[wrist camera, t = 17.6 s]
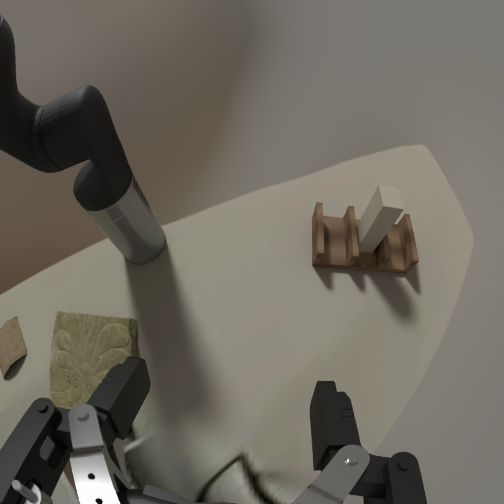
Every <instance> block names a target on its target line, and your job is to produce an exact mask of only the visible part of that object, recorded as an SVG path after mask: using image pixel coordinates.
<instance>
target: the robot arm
mask: <svg viewBox="0 0 504 504" xmlns="http://www.w3.org/2000/svg"><path fill="white" fill-rule="evenodd" d="M15 63H16V62H15V44H14V38H13V33H12V31H11V28H10V26H9V24H8V23H7V21H6V20H5V19H4V18H3V17H2V16H1V14H0V150H2V151H4V152H6V153H8V154H9V155H11V156H13V157H15V158H16V159H18V160H20V161H22V162H24V163H25V164H27V165H29V166H31V167H33V168H35V169H37V170H39V171H42V172H45V173H54V172H59V171H62V170H64V169H67V168H69V167H71V166H73V165H76V164H78V163H81V162H84V161H86V160H88V159H89V160H90V161H89V162H87V163H86V164H85V165H84V167H83V168H82V169H81V170H80V172H79V174H78V175H77V177H76V179H75V182H74V187H73V190H74V195H75V198H76V199H77V201H78V202H79V203H80V204H81V206H82V207H83V208H84V210H85V211H86V212H87V213H88V215H89V216H90V217H91V218H92V219H93V221H94V222H95V223H96V224H97V225H98V226H99V228H100V229H101V230H102V231H103V232H104V234H105V235H106V236H107V237H108V238H109V239H110V241H111V242H112V243H113V244H114V245H115V246H116V247H117V248H118V250H119V251H120V252H121V253H122V254H123V255H124V256H125V257H126V258H127V260H129V261H130V262H132V263H135V264H144V263H147V262H149V261H151V260H153V259H154V258H156V257H157V256H158V255H159V253H160V252H161V251H162V249H163V247H164V244H165V234H164V231H163V229H162V227H161V226H160V224H159V222H158V220H157V218H156V216H155V215H154V212H153V211H152V209H151V207H150V205H149V203H148V201H147V199H146V198H145V195H144V193H143V192H142V190H141V188H140V186H139V184H138V182H137V180H136V178H135V176H134V174H133V172H132V170H131V168H130V166H129V164H128V161H127V158H126V155H125V152H124V150H123V147H122V145H121V142H120V140H119V138H118V135H117V133H116V130H115V127H114V125H113V122H112V119H111V116H110V113H109V110H108V107H107V105H106V102H105V100H104V98H103V96H102V95H101V93H100V92H99V91H98V90H97V89H96V88H95V87H94V86H90V85H89V86H84V87H81V88H79V89H76V90H74V91H72V92H70V93H68V94H66V95H64V96H62V97H60V98H58V99H56V100H54V101H52V102H50V103H48V104H47V105H44V106H38V105H36V104H33V103H32V102H30V101H29V100H27V99H26V98H25V97H24V96H22V95H21V94H20V92H19V91H18V88H17V83H16V66H15V65H16V64H15ZM149 389H150V378H149V374H148V370H147V366H146V362H145V360H144V359H142V358H138V357H134V356H128V357H127V359H126V360H125V361H124V363H123V364H120V363H118V364H117V365H115V366H114V367H112V368H111V369H110V370H109V371H108V373H107V374H106V377H104V378H103V380H102V382H101V383H100V384H99V385H98V387H97V388H96V390H95V391H94V392H93V394H92V395H91V397H90V398H89V400H88V401H87V402H86V403H85V404H78V405H75V406H74V407H72V408H71V409H66V408H59V407H55V405H54V403H53V402H52V401H51V400H50V399H48V398H39V399H37V400H35V401H34V402H33V403H32V405H31V406H30V407H29V409H28V410H27V411H26V413H25V414H24V416H23V417H22V419H21V420H20V421H19V423H18V424H17V426H16V427H15V429H14V430H13V432H12V433H11V435H10V436H9V438H8V439H7V441H6V442H5V444H4V446H3V447H2V449H1V450H0V504H53V501H52V499H51V495H52V493H53V491H54V489H55V487H56V484H57V482H58V480H59V478H60V476H61V474H62V472H63V470H64V468H65V466H66V464H67V462H68V459H69V458H70V461H71V466H72V471H73V475H74V480H75V484H76V488H77V492H78V495H79V499H80V502H81V504H234V503H227V502H214V503H195V502H192V501H189V500H187V499H185V498H183V497H181V496H178V495H176V494H174V493H172V492H170V491H167V490H163V489H160V488H156V487H153V486H150V485H147V484H146V485H145V488H144V489H132V488H131V486H130V484H129V482H128V480H127V478H126V477H125V474H124V472H123V469H122V466H121V463H120V461H119V458H118V454H117V451H116V448H115V445H114V443H113V442H114V440H115V438H119V439H121V440H124V439H125V437H126V435H127V433H128V431H129V429H130V427H131V425H132V423H133V421H134V419H135V417H136V415H137V414H138V412H139V410H140V408H141V406H142V404H143V402H144V400H145V398H146V396H147V394H148V392H149ZM310 423H311V436H312V450H313V467H314V470H321V473H320V475H319V476H318V477H317V478H316V479H315V480H314V481H313V483H312V484H311V485H309V486H308V487H307V488H306V489H305V490H304V491H303V492H302V493H301V494H300V495H299V496H298V497H297V498H296V499H295V500H294V501H293V502H292V503H291V504H342V503H343V500H344V499H345V498H346V496H347V495H348V494H351V495H357V496H363V498H364V504H427V501H426V496H425V491H424V486H423V481H422V477H421V472H420V468H419V464H418V461H417V459H416V457H415V456H414V455H412V454H411V453H407V452H399V453H396V454H395V455H393V456H392V457H391V458H388V457H381V456H375V455H371V454H369V453H368V452H367V451H366V449H364V448H363V447H362V446H361V443H360V439H359V434H358V429H357V425H356V421H355V418H354V412H353V408H352V404H351V400H350V398H349V397H348V396H347V395H346V393H345V392H337V390H336V385H335V382H334V381H317V384H316V387H315V390H314V393H313V397H312V400H311V404H310ZM47 437H48V438H47ZM46 438H47V439H46ZM45 440H46V441H45ZM44 442H45V443H44ZM43 443H44V444H43ZM42 445H43V446H42ZM41 447H42V448H41ZM40 449H41V450H40Z"/></svg>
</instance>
